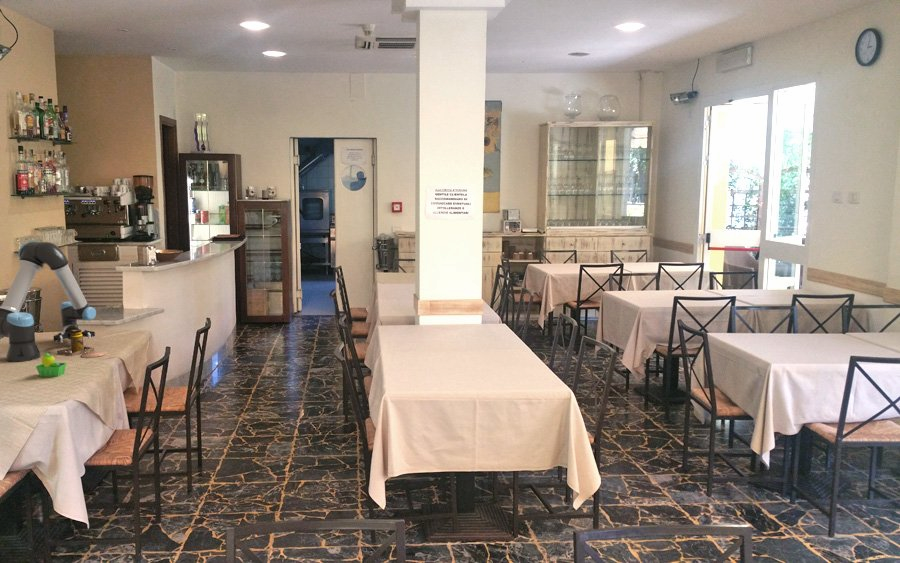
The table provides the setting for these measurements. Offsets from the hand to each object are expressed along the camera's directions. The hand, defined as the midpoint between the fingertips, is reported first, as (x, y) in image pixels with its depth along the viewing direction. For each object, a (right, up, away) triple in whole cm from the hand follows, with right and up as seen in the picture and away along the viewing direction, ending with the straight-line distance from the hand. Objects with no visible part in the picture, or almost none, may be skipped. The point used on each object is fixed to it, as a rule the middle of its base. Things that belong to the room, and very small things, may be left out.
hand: (76, 338), depth 400 cm
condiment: (+1, -7, -1) cm, 7 cm away
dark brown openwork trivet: (0, -7, -1) cm, 7 cm away
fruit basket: (+12, -14, -48) cm, 52 cm away
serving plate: (+14, -8, -8) cm, 18 cm away
